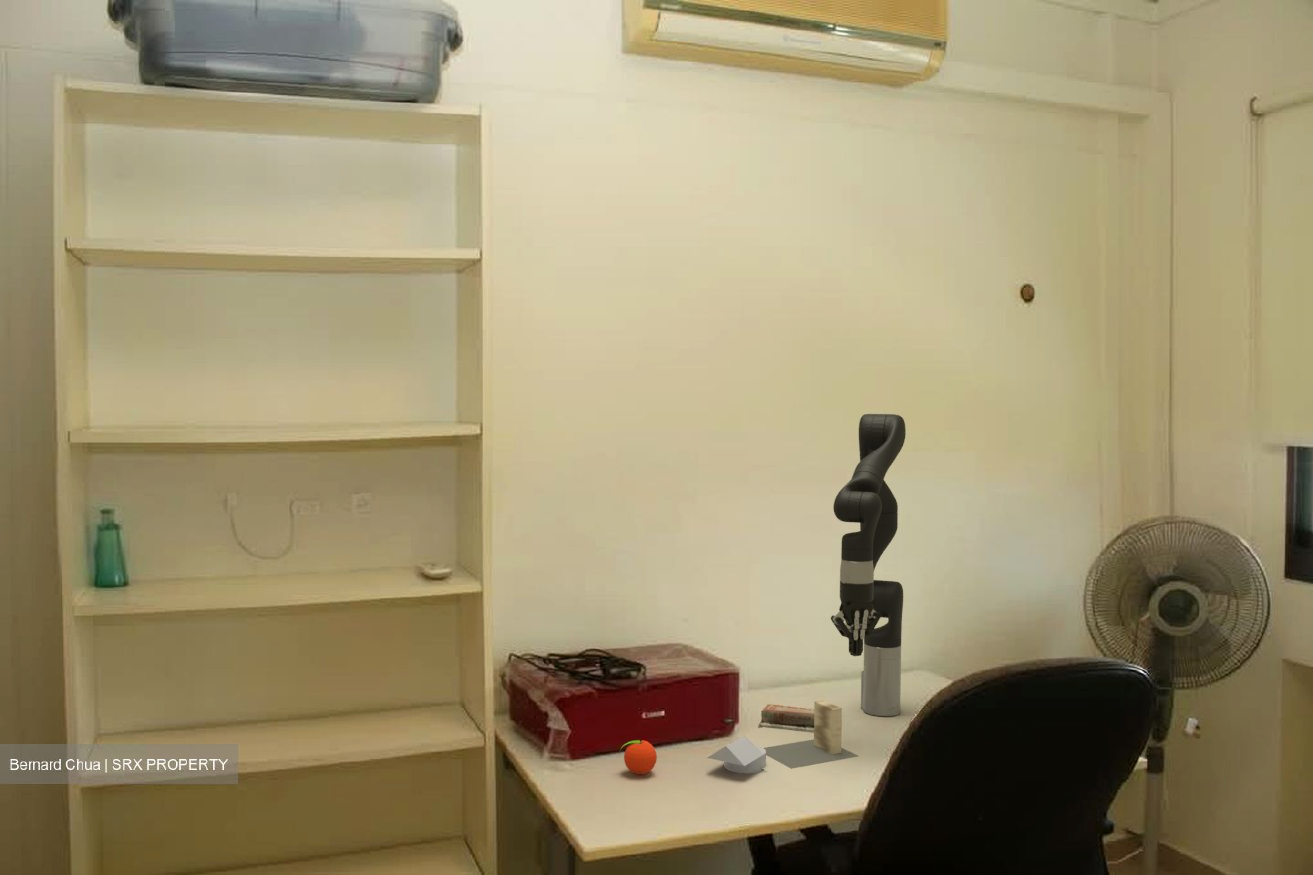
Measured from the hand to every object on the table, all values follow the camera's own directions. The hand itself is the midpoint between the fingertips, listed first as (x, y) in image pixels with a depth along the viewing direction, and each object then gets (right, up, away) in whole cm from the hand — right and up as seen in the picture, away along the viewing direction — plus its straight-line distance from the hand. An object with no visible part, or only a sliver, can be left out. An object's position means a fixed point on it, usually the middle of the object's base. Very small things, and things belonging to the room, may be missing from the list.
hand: (855, 655), depth 249 cm
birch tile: (-7, -21, -3) cm, 22 cm away
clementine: (-49, -22, -17) cm, 56 cm away
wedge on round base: (-27, -22, -14) cm, 38 cm away
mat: (-12, -21, -5) cm, 25 cm away
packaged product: (-11, -21, +16) cm, 28 cm away
